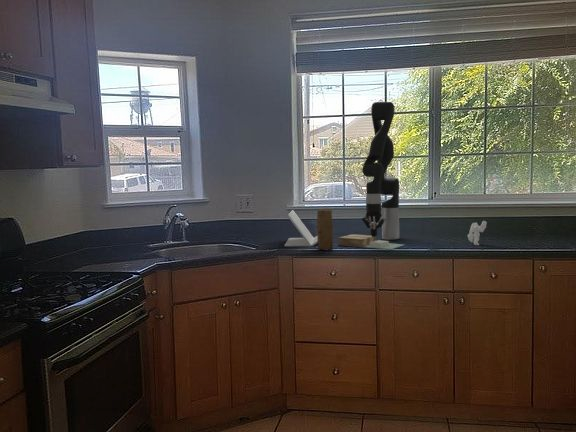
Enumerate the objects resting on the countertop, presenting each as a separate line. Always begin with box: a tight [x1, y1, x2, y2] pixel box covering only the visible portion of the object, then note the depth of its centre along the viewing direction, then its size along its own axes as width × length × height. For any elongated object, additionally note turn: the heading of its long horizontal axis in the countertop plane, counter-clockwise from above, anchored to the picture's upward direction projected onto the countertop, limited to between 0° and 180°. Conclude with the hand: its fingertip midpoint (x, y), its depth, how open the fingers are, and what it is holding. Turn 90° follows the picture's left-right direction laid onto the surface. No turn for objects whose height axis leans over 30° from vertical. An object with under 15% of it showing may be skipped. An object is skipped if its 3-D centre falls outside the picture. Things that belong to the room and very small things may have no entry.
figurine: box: [467, 220, 488, 246], centre depth 260 cm, size 10×5×12 cm, turn 33°
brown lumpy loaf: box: [316, 208, 334, 251], centre depth 260 cm, size 11×8×20 cm
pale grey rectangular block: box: [369, 239, 390, 248], centre depth 263 cm, size 9×6×2 cm, turn 141°
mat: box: [362, 242, 405, 251], centre depth 263 cm, size 15×16×1 cm
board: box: [337, 233, 377, 248], centre depth 271 cm, size 14×14×4 cm
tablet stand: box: [284, 209, 318, 247], centre depth 282 cm, size 18×25×17 cm
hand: (374, 236), depth 264 cm, fingers closed
